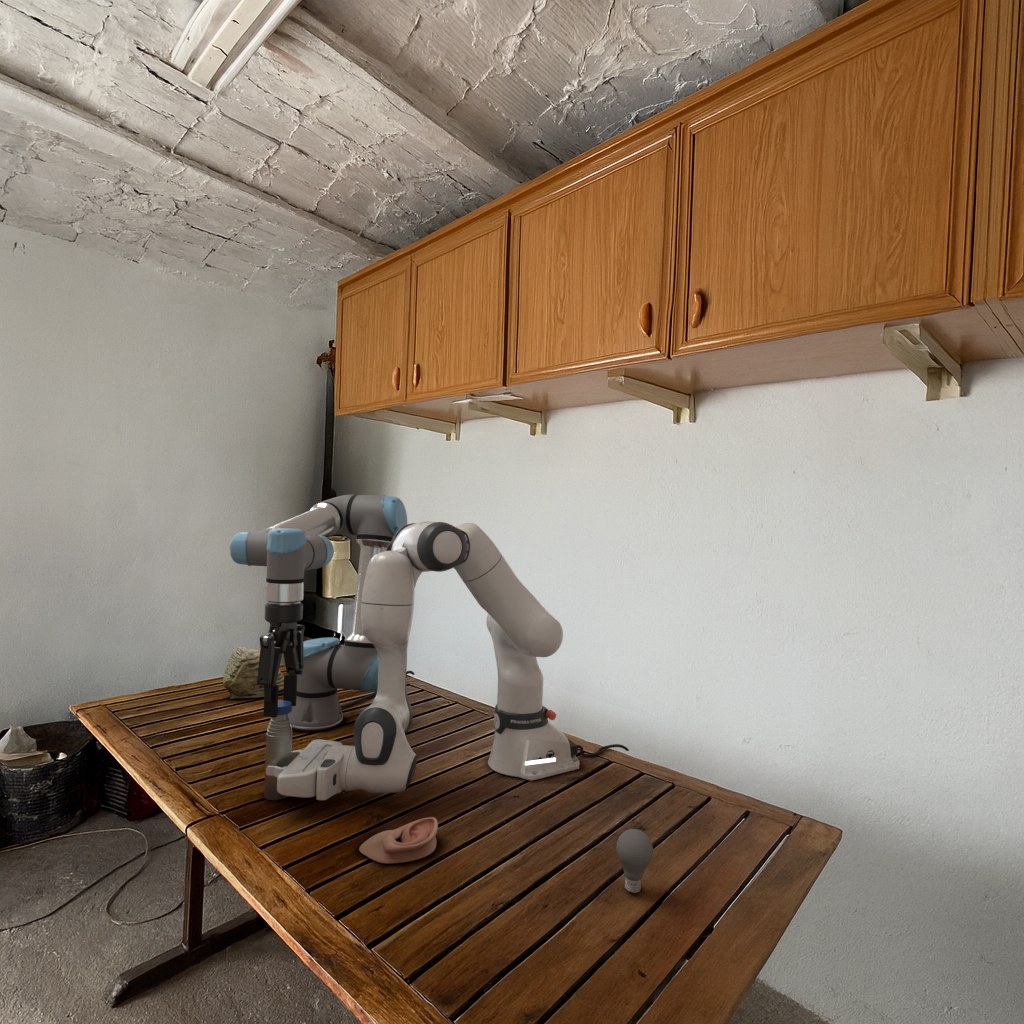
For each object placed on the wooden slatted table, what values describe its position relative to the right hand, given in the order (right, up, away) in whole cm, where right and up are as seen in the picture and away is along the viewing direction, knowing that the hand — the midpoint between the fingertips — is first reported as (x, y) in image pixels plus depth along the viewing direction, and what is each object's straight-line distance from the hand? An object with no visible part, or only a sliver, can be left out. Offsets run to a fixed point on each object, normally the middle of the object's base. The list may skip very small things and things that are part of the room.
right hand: (274, 762), depth 134 cm
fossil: (-30, -4, +64) cm, 71 cm away
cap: (+1, +12, 0) cm, 12 cm away
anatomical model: (+30, -8, -18) cm, 36 cm away
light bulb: (+70, -10, -28) cm, 76 cm away
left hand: (+1, +11, 0) cm, 11 cm away
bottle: (+1, -7, 0) cm, 7 cm away
